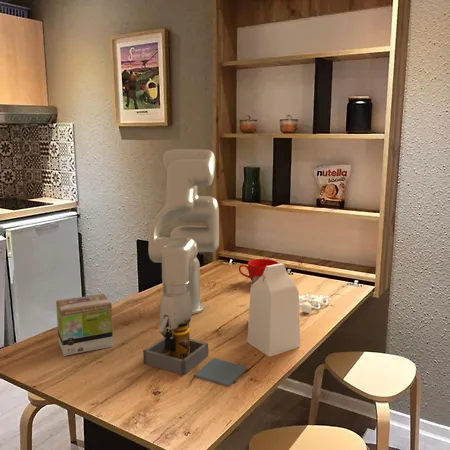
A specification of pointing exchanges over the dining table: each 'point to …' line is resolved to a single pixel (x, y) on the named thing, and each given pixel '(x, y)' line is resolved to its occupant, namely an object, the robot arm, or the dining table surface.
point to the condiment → (181, 341)
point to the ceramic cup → (257, 267)
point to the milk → (274, 312)
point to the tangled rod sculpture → (315, 301)
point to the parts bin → (173, 364)
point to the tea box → (84, 324)
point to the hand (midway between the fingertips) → (177, 344)
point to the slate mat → (220, 371)
